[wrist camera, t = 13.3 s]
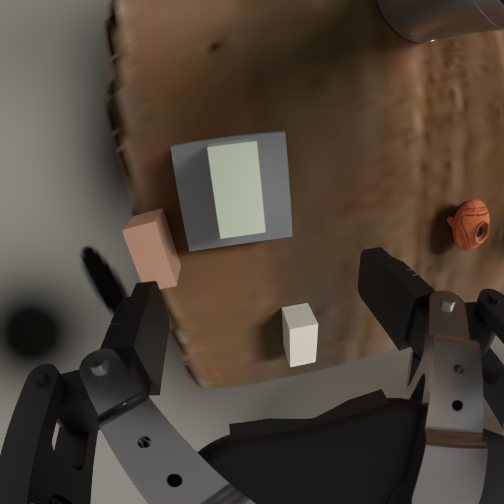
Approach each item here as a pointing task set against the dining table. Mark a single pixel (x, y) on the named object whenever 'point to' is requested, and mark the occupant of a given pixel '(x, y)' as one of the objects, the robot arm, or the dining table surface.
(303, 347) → the cream brick
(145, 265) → the terracotta brick
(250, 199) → the sage brick
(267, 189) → the charcoal block
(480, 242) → the pot
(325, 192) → the dining table surface
